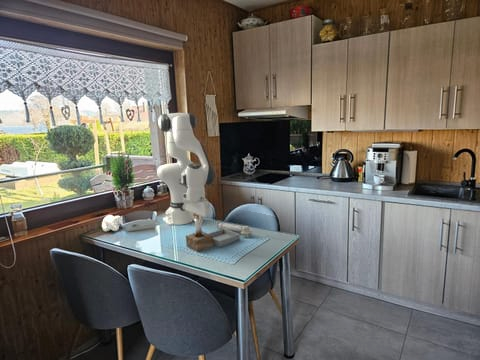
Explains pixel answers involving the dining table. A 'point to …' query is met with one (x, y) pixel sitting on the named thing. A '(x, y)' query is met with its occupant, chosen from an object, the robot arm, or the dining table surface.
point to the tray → (224, 237)
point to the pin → (198, 227)
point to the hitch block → (199, 241)
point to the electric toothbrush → (236, 229)
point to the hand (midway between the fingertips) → (198, 221)
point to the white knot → (111, 223)
